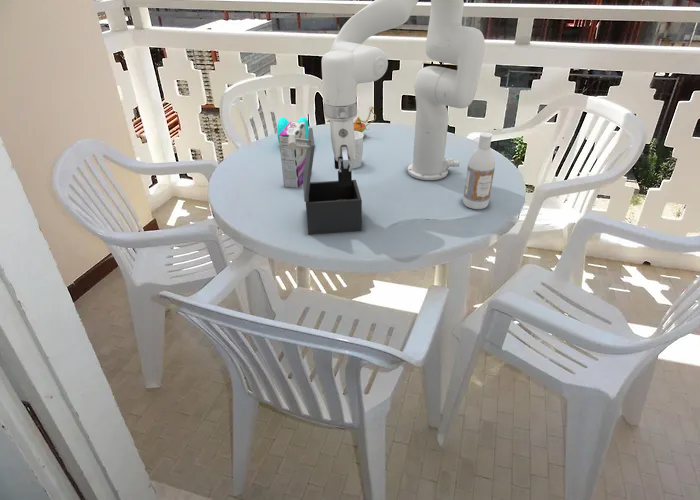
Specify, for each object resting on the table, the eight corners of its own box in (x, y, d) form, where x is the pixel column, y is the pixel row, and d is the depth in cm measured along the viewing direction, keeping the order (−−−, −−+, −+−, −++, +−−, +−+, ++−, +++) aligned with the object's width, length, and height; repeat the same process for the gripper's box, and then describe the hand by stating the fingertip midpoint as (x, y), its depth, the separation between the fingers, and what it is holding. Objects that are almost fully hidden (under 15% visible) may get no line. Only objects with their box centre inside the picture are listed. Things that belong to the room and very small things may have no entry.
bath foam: (469, 211, 130) (479, 140, 119) (458, 199, 136) (467, 131, 124) (492, 208, 131) (505, 138, 120) (481, 196, 137) (492, 128, 126)
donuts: (307, 151, 166) (305, 122, 160) (278, 151, 166) (275, 122, 160) (309, 140, 174) (308, 113, 169) (282, 140, 174) (279, 113, 169)
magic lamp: (326, 135, 178) (325, 106, 172) (373, 132, 180) (374, 103, 174) (328, 142, 172) (327, 112, 166) (377, 139, 174) (378, 108, 168)
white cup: (335, 167, 154) (334, 137, 149) (344, 158, 160) (344, 129, 155) (358, 171, 152) (358, 141, 146) (366, 161, 158) (367, 132, 152)
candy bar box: (293, 171, 152) (289, 121, 143) (309, 172, 151) (305, 122, 142) (282, 187, 143) (277, 134, 134) (299, 188, 142) (294, 135, 133)
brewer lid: (312, 128, 118) (288, 125, 117) (314, 145, 108) (289, 143, 107) (305, 181, 126) (283, 179, 124) (307, 202, 116) (283, 200, 115)
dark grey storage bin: (355, 208, 132) (355, 179, 127) (361, 230, 122) (361, 200, 117) (306, 211, 131) (304, 182, 126) (308, 234, 121) (306, 203, 116)
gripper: (361, 121, 104) (362, 191, 113) (352, 96, 118) (353, 161, 127) (327, 123, 103) (331, 194, 113) (321, 98, 117) (325, 163, 127)
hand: (343, 176), depth 120 cm, fingers open, 9 cm apart
